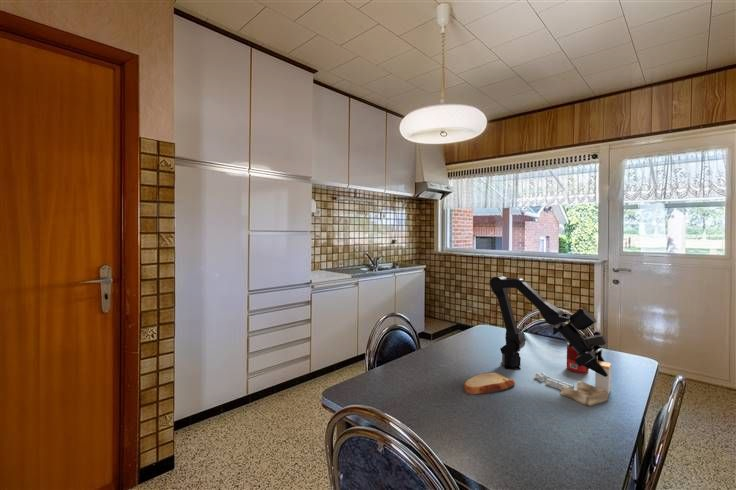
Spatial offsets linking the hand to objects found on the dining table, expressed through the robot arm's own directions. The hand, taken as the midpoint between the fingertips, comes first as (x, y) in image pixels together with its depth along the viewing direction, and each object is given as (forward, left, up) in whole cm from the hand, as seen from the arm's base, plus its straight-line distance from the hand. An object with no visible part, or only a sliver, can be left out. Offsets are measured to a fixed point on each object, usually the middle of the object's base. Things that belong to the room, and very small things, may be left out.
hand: (607, 373), depth 125 cm
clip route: (-17, +5, -7) cm, 19 cm away
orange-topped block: (-1, +1, -7) cm, 7 cm away
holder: (-11, -5, -7) cm, 14 cm away
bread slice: (-41, +2, -7) cm, 42 cm away
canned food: (0, +20, -7) cm, 22 cm away
